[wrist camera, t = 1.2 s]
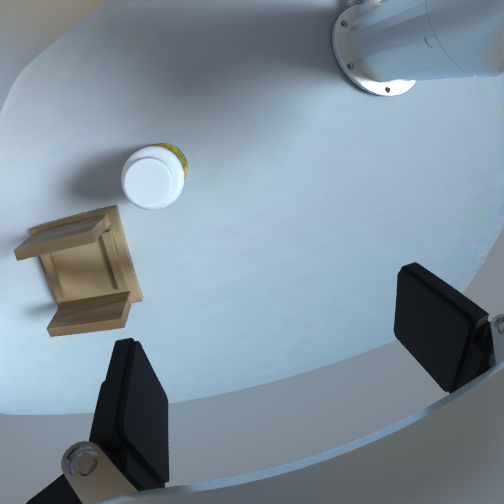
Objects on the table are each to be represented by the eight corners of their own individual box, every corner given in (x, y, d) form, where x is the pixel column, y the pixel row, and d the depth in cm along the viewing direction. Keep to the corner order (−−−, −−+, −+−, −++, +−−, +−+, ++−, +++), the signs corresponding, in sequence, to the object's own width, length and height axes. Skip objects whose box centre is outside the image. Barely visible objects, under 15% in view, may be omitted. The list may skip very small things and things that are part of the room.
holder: (33, 226, 31) (5, 247, 25) (116, 205, 33) (99, 223, 26) (63, 309, 36) (46, 340, 30) (142, 297, 37) (134, 330, 31)
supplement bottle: (197, 159, 32) (197, 172, 23) (170, 202, 34) (159, 231, 24) (155, 132, 30) (137, 134, 21) (128, 176, 32) (101, 195, 22)
